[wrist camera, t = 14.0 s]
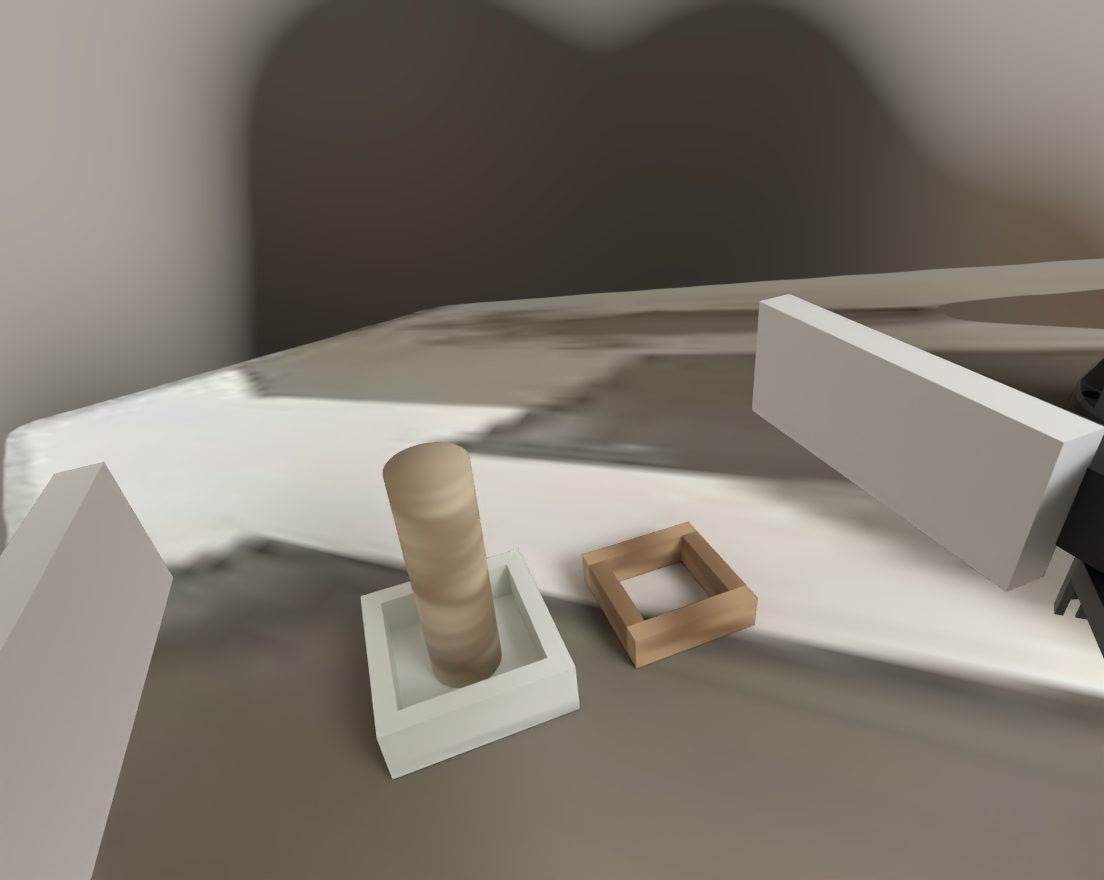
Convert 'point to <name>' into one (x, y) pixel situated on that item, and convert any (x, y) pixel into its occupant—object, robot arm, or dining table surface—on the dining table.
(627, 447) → the dining table surface
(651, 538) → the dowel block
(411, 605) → the tray
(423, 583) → the dowel
